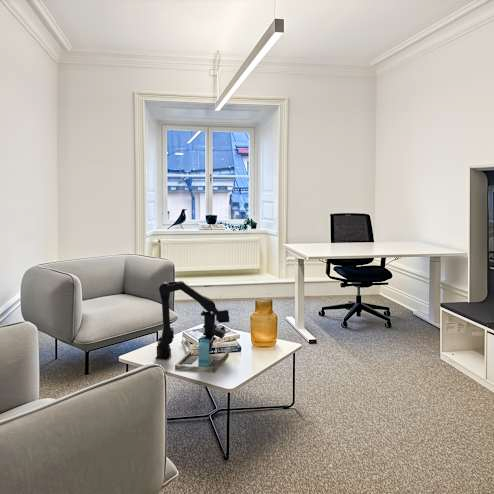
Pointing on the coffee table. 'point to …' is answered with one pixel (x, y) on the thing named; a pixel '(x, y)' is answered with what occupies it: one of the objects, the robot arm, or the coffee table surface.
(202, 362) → the data package
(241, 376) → the coffee table surface
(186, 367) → the grey tray
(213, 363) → the trap pads
